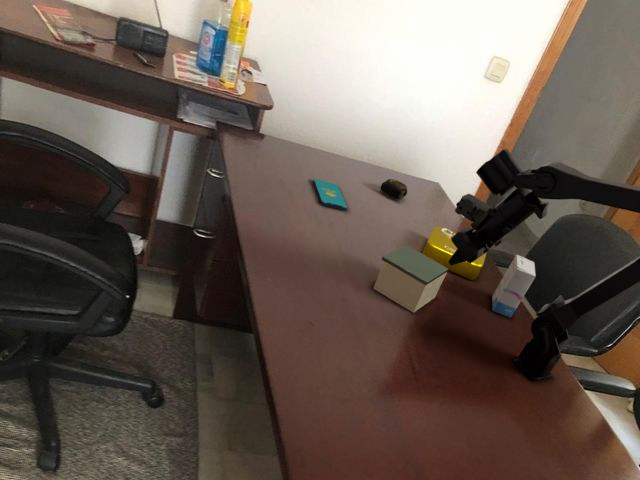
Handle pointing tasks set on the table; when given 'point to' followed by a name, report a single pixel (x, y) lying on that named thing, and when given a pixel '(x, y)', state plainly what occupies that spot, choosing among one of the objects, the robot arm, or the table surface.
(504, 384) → the table surface
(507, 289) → the ink box
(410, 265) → the lid
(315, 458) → the table surface
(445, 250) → the element tile
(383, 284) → the tin
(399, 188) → the tape measure
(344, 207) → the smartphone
